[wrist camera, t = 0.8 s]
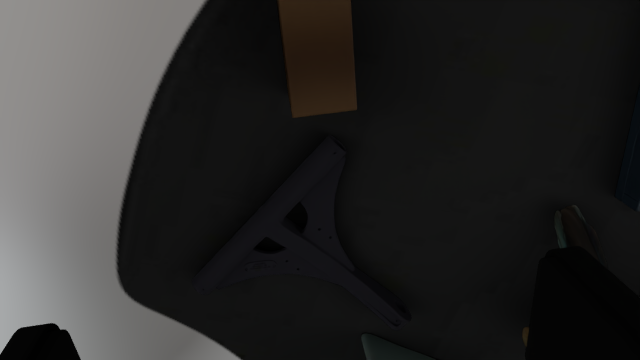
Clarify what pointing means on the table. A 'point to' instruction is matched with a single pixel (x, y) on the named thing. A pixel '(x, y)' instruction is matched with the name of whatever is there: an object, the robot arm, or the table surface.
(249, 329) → the table surface
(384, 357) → the planter
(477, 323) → the table surface
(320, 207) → the bracket
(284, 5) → the brown wooden block
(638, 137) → the tray
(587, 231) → the bird figurine
